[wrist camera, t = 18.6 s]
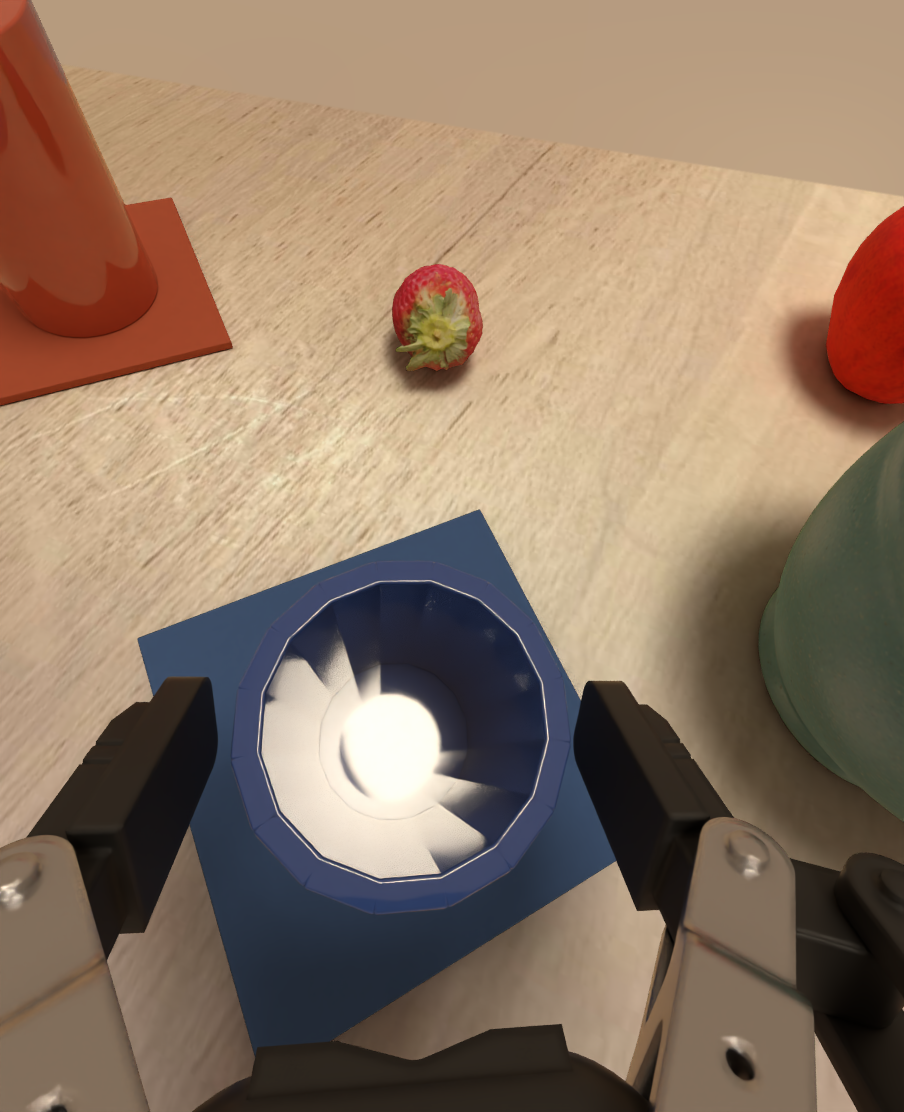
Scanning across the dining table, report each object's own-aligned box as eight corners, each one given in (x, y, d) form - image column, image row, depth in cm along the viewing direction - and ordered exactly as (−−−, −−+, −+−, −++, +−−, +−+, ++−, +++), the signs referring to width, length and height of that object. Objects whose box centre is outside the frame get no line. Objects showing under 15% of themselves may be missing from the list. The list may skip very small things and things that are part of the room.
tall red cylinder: (29, 352, 22) (-217, 66, 13) (3, 255, 24) (-231, -60, 15) (173, 319, 24) (44, 43, 15) (140, 231, 26) (5, -68, 16)
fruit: (481, 310, 27) (501, 218, 23) (470, 403, 25) (491, 321, 20) (400, 295, 27) (404, 199, 22) (382, 388, 25) (383, 302, 20)
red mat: (-9, 408, 22) (-16, 401, 21) (-47, 242, 24) (-53, 234, 24) (233, 348, 24) (231, 341, 24) (174, 204, 27) (171, 197, 27)
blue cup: (345, 868, 17) (303, 996, 8) (283, 695, 19) (188, 630, 9) (505, 781, 18) (629, 801, 9) (435, 630, 20) (481, 519, 11)
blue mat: (265, 1077, 15) (262, 1084, 15) (141, 640, 19) (136, 638, 19) (648, 836, 19) (653, 837, 18) (478, 512, 23) (479, 508, 22)
